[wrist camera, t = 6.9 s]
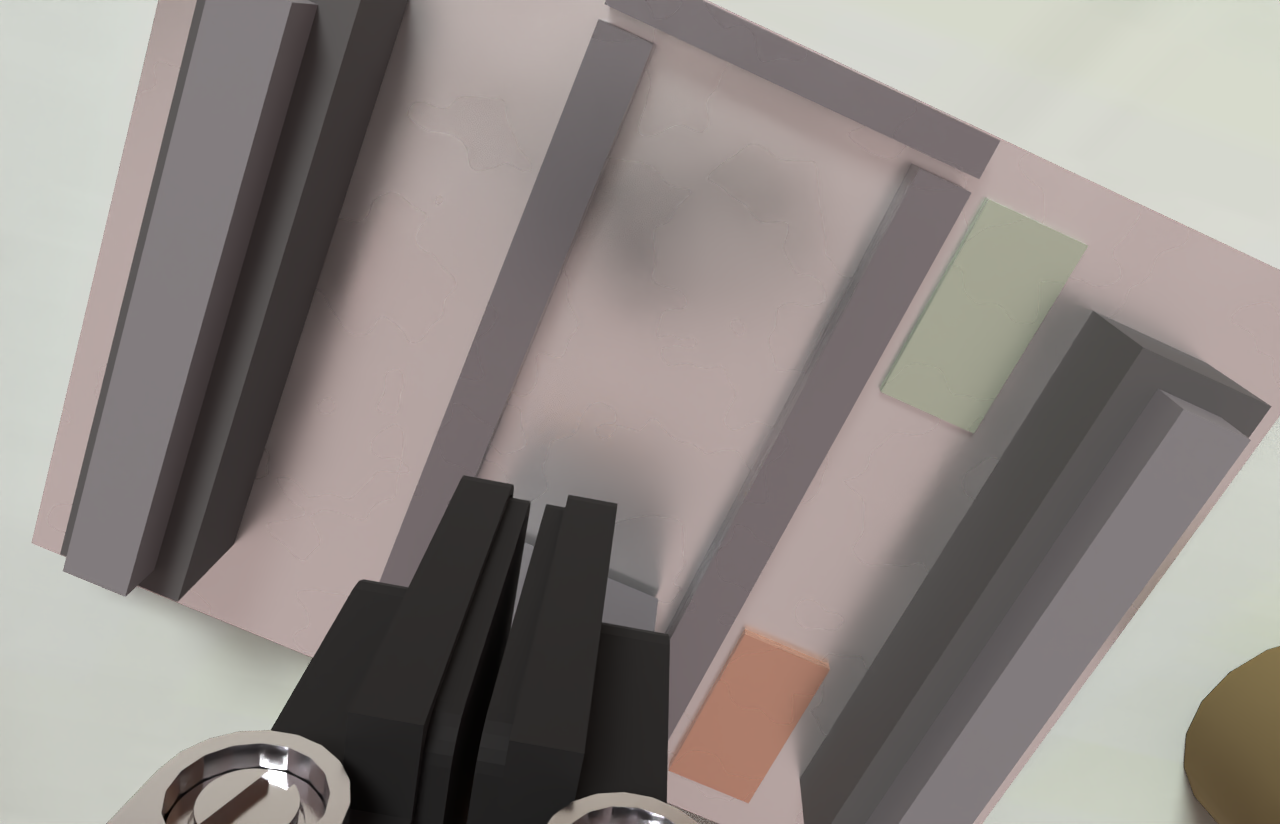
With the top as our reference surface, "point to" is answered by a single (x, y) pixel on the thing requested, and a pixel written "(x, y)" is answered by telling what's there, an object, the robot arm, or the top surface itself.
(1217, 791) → the cork
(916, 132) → the panel
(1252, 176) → the top surface
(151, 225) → the long gray rail
